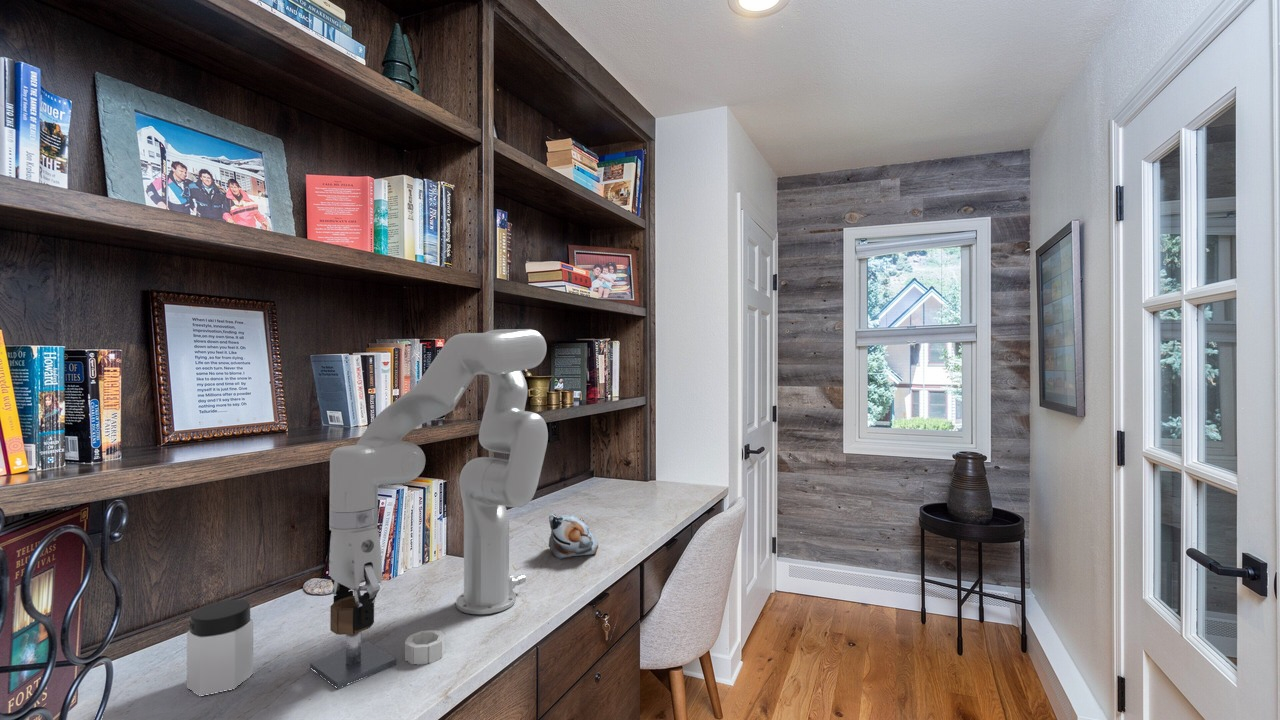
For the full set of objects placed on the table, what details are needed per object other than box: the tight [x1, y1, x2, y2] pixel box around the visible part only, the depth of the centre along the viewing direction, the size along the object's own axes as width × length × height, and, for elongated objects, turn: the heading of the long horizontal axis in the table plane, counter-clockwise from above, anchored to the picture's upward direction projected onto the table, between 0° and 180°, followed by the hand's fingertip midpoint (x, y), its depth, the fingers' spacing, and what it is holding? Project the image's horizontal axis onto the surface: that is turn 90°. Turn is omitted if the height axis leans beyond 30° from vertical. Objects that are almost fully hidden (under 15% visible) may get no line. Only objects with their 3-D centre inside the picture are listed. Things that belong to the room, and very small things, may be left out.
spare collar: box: [404, 629, 446, 665], centre depth 107 cm, size 6×6×3 cm
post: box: [309, 631, 397, 689], centre depth 103 cm, size 10×10×7 cm
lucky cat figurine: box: [548, 513, 599, 560], centre depth 161 cm, size 15×12×14 cm
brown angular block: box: [329, 594, 375, 636], centre depth 103 cm, size 6×6×4 cm
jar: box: [186, 599, 254, 697], centre depth 98 cm, size 9×8×12 cm
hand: (353, 620), depth 103 cm, fingers closed on brown angular block, 6 cm apart
